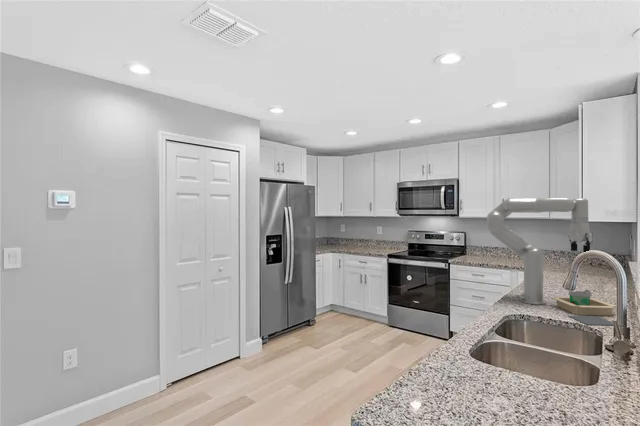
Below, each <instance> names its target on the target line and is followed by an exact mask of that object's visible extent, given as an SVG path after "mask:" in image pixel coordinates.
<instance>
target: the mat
mask: <svg viewBox="0 0 640 426" xmlns="http://www.w3.org/2000/svg"><path fill="white" fill-rule="evenodd" d="M567 317H568V318H571V319H572V318H573V320H574V319H575V320H574V321H577V322H579V323H581V322H582V323H581V324H583V323H584V325H585V324H586V326H602V327H603V326H608V327H609V326H612V327H613V323H614V322H613V321H610V320H607V319H605V318H603V317H601V316H599V315H567Z"/></svg>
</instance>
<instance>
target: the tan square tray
mask: <svg viewBox="0 0 640 426" xmlns="http://www.w3.org/2000/svg"><path fill="white" fill-rule="evenodd" d="M552 299H553V300H555V301H556V307H558V308H561V309H562V310H565V311H566V312H570V313H573V314H574V315H575V316H613V309H615V308H617V307H616V305H614V304H611V303H608V302H606V301H603V300H599V299H597V298H592V297H590V305H589V306H580V305H575V304H572V303H570V296H555V297H552Z"/></svg>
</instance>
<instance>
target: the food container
mask: <svg viewBox="0 0 640 426" xmlns="http://www.w3.org/2000/svg"><path fill="white" fill-rule="evenodd" d="M568 295H569V297H570V303H572V304H575V305H580V306H589V305H590V298H591V297H592V296H593V295H592V292H591V290H588V289H585V290H584V291H571V290H569V291H568Z"/></svg>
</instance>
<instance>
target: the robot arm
mask: <svg viewBox="0 0 640 426" xmlns="http://www.w3.org/2000/svg"><path fill="white" fill-rule="evenodd" d="M545 212H546V213H548V212H549V213H552V212H553V213H555V212H556V213H559V212H560V213H567V212H571V223H570V226H569V235H568V239H569V242H570V243H569V244H570V251H571V252H578V242H582V243H583V247H582V248H583V249H582V251H583V253H584V252H586V251H589V250H590V251H591V245H592V243H593V239H594V237H593V236H591V232H590V226H589V225H590V224H589V200H588V199H587V198H573V199H572V198H569V197H561V198H560V197H559V198H558V197H554V198H553V197H551V198H549V197H546V198H545V197H544V198H543V197H511V198H507V199H505V200H503V201H502V202H501V203H499V205H497V206H496V207H494V209H493V210H491V211H490V212H489V213H488V214H487V216H486V221H487V228H488V231H489V233H490V235H492V236H493V237H494V239H496V240H497V241H499V242H500V243H502V244H503V245H504V246H506V248H507V249H509V251H512V252H513V253H514V254H515V255H517V256H519V258H520V259H523V260H524V261H523V263H524V264H523V292H522V293H521V294H514V297H515V299H520V301H521V302H522V303H525V304H528V305H529V304H530V305H538V306H541V305H546V304H547V301H546V300H545V299H544V265H545V264H544V263H545V255H544V252H543V251H542V249H540V248H538V247H535V246H533V245H532V244H531V243H529V242H528V241H526V240H525V239H524V238H523V237H521V236H520V235H518V234H516V233H514V232H513V231H512V230H510V229H509V228H508V227H506V226H505V224H504V220H505V219H507V217H509V216H510V215H512V213H516V214H517V213H521V214H522V213H529V214H530V213H536V214H537V213H538V214H539V213H545Z"/></svg>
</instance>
